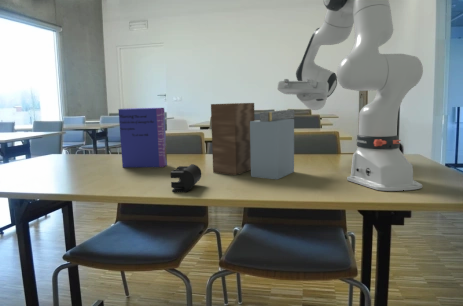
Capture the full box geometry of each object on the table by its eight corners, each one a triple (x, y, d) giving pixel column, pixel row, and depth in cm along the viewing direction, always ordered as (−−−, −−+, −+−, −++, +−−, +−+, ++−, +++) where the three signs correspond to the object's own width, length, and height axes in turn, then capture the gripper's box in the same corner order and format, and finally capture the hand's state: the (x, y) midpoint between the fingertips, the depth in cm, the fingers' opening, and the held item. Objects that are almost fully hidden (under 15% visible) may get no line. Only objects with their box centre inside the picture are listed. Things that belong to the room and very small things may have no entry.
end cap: (194, 193, 104) (193, 170, 103) (171, 192, 105) (169, 170, 104) (202, 184, 114) (201, 164, 113) (180, 184, 115) (179, 164, 114)
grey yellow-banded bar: (286, 117, 138) (286, 109, 137) (295, 117, 136) (295, 109, 136) (259, 121, 120) (259, 112, 119) (268, 121, 118) (268, 112, 117)
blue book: (167, 165, 150) (164, 107, 147) (164, 167, 146) (160, 107, 142) (127, 165, 152) (123, 108, 148) (122, 167, 147) (118, 108, 144)
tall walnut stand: (233, 166, 144) (231, 103, 140) (255, 168, 139) (254, 102, 135) (213, 172, 132) (210, 104, 129) (236, 175, 127) (234, 103, 123)
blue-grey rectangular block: (269, 169, 135) (268, 119, 133) (294, 171, 130) (294, 119, 127) (250, 176, 124) (249, 121, 121) (277, 179, 118) (276, 121, 116)
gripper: (285, 84, 155) (273, 73, 143) (332, 85, 145) (324, 72, 133) (282, 98, 154) (270, 88, 142) (330, 100, 144) (321, 89, 132)
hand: (297, 80), depth 137 cm, fingers open, 8 cm apart
